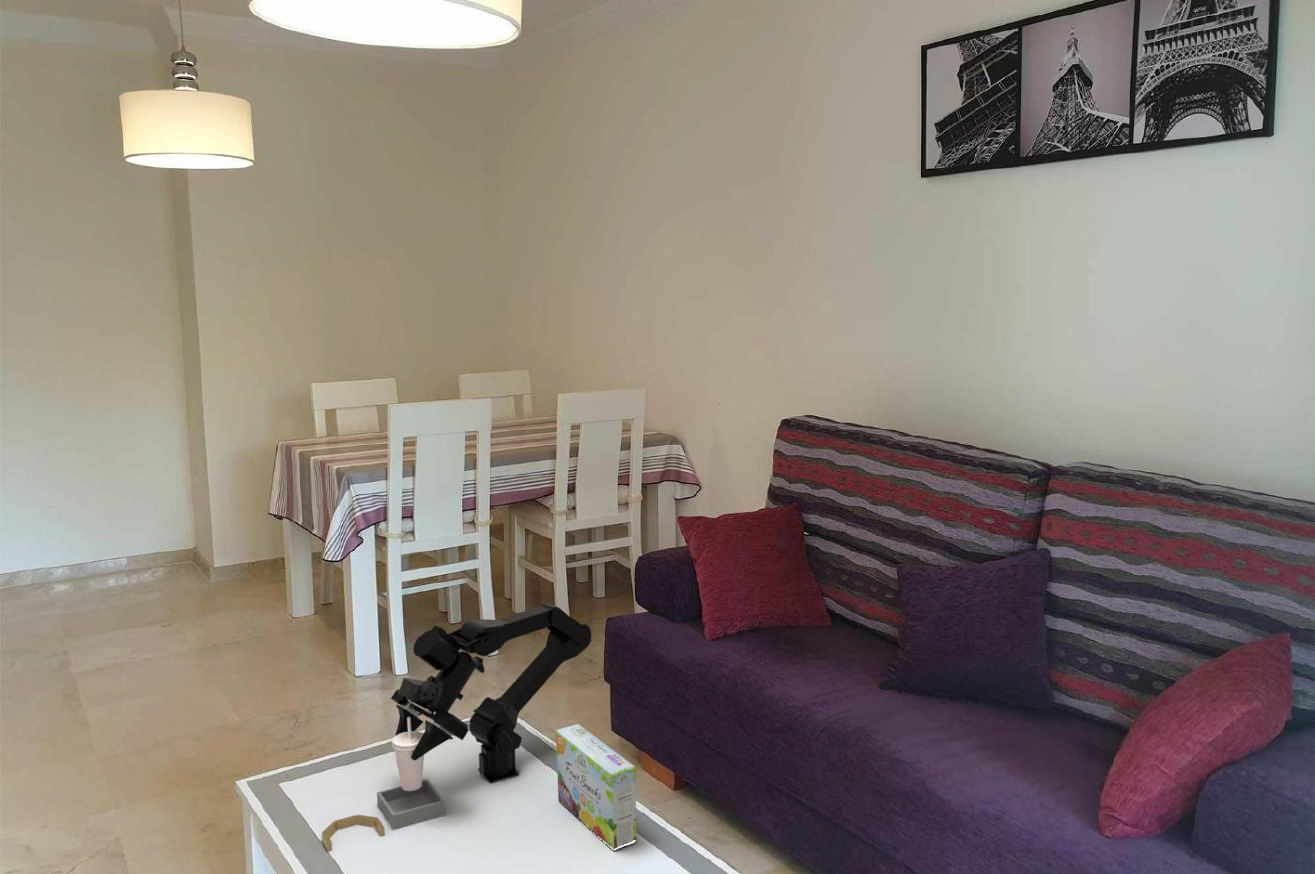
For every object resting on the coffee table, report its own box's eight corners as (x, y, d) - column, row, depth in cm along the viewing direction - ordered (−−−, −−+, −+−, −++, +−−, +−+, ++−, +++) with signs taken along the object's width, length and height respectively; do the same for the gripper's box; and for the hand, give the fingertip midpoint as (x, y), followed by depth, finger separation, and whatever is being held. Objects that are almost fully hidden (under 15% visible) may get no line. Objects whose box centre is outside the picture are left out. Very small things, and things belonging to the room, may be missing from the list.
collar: (373, 817, 189) (373, 810, 189) (384, 834, 184) (384, 827, 183) (317, 832, 184) (317, 825, 184) (327, 851, 178) (327, 843, 178)
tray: (427, 792, 199) (427, 778, 199) (445, 814, 191) (445, 800, 190) (377, 805, 194) (376, 792, 193) (393, 829, 185) (392, 815, 185)
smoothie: (398, 797, 187) (394, 726, 185) (391, 782, 193) (387, 713, 191) (432, 789, 190) (429, 719, 188) (424, 774, 196) (421, 706, 194)
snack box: (555, 802, 195) (554, 728, 193) (580, 794, 199) (579, 721, 196) (612, 853, 178) (611, 773, 176) (638, 843, 181) (638, 764, 179)
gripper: (397, 648, 197) (348, 719, 191) (452, 674, 184) (402, 751, 178) (433, 675, 204) (387, 744, 198) (488, 701, 191) (441, 777, 185)
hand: (403, 753), depth 189 cm, fingers closed on smoothie, 6 cm apart
